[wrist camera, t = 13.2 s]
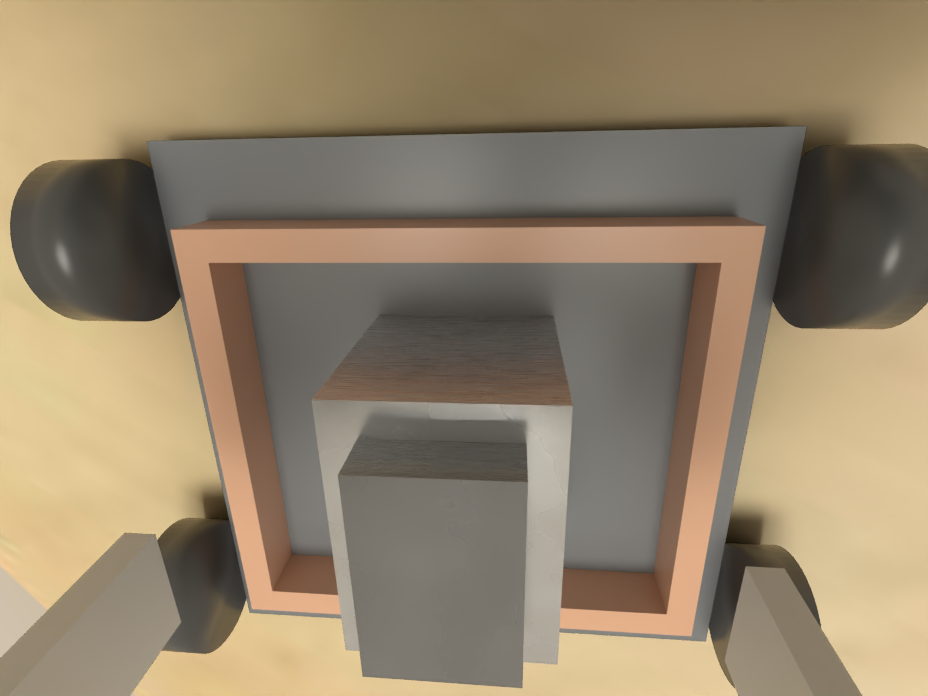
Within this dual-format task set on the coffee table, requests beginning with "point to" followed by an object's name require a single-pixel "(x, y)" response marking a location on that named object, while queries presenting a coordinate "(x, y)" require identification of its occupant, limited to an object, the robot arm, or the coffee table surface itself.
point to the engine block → (448, 495)
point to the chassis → (488, 294)
